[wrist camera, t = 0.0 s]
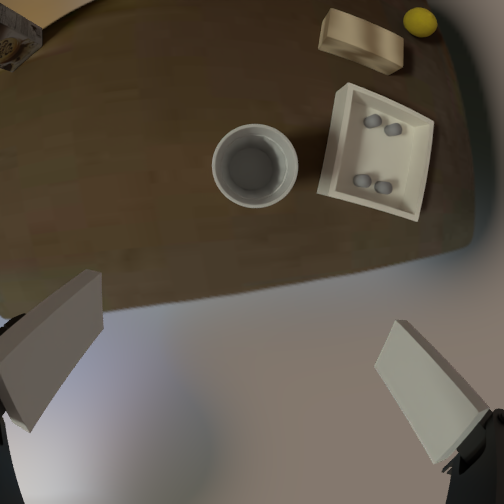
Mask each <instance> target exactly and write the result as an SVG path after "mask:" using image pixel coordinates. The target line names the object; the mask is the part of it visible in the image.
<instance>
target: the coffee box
mask: <svg viewBox="0 0 504 504" xmlns="http://www.w3.org/2000/svg"><path fill="white" fill-rule="evenodd" d="M40 47H42V28H41V27H39V26H37V25H36V24H34V23H33V22H31V21H29V20H27V19H26V18H25V17H23V16H21V15H20V14H18V13H16V12H15V11H13V10H11V9H9V8H8V7H6V6H4V5H3V4H1V3H0V68H2V69H5V70H8V71H10V72H13V71H14V70H15V69H16V68H17V67H18V66H19V65H21V64H22V63H23V62H24V61H25V60H26V59H27V58H28V57H30V56H31V55H32V54H33V53H34V52H35V51H37V50H38V49H39V48H40Z"/></svg>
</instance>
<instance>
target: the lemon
mask: <svg viewBox="0 0 504 504" xmlns="http://www.w3.org/2000/svg"><path fill="white" fill-rule="evenodd" d="M403 21H404V26H405V28H406V29H407V30H408V31H409V32H410V33H411V34H412V35H414V36H417V37H427V36H430V35H431V34H432V33H434V31H435V30H436V28H437V21H436V18H435V16H434V15H433V14H432V13H431V12H430V11H428V10H426V9H424V8H414V9H411V10H409V11H408V12H407V13H406V14H405V16H404V19H403Z"/></svg>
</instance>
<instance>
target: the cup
mask: <svg viewBox="0 0 504 504" xmlns="http://www.w3.org/2000/svg"><path fill="white" fill-rule="evenodd" d="M212 171H213V176H214V179H215V182H216V184H217V186H218V188H219V189H220V191H221V192H222V193H223V194H224V195H225V196H226V197H227V198H228V199H229V200H231V201H232V202H234V203H236V204H238V205H241V206H244V207H249V208H262V207H267V206H270V205H272V204H275V203H277V202H278V201H280V200H281V199H283V198H284V197H285V196H286V195H287V194H288V193H289V191H290V190H291V189H292V187H293V185H294V183H295V181H296V178H297V174H298V159H297V154H296V151H295V149H294V147H293V145H292V144H291V142H290V141H289V140H288V138H287V137H286V136H285V135H284V134H282V133H281V132H280V131H278V130H276V129H275V128H272V127H270V126H267V125H262V124H248V125H243V126H240V127H238V128H236V129H234V130H232V131H230V132H229V133H228V134H227V135H225V136H224V137H223V139H222V140H221V141H220V142H219V144H218V146H217V147H216V150H215V152H214V155H213V161H212Z"/></svg>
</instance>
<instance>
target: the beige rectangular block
mask: <svg viewBox="0 0 504 504" xmlns="http://www.w3.org/2000/svg"><path fill="white" fill-rule="evenodd" d="M318 50H322V51H325V52H328V53H331V54H334V55H337V56H340V57H343V58H346V59H349V60H352V61H354V62H357V63H359V64H362V65H365V66H367V67H369V68H372V69H374V70H377V71H379V72H381V73H384V74H386V75H390V74H392V73H394V72H395V71H397V70H399V69H401V68H402V67H403V38H402V37H400V36H398V35H396V34H394V33H392V32H390V31H388V30H386V29H384V28H381V27H379V26H377V25H375V24H372V23H370V22H368V21H365V20H363V19H360V18H358V17H355V16H353V15H350V14H347V13H344V12H342V11H339V10H336V9H333V8H331V9H330V10H329V12H328V14H327V15H326V17H325V19H324V20H323V22H322V28H321V34H320V40H319V47H318Z"/></svg>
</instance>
